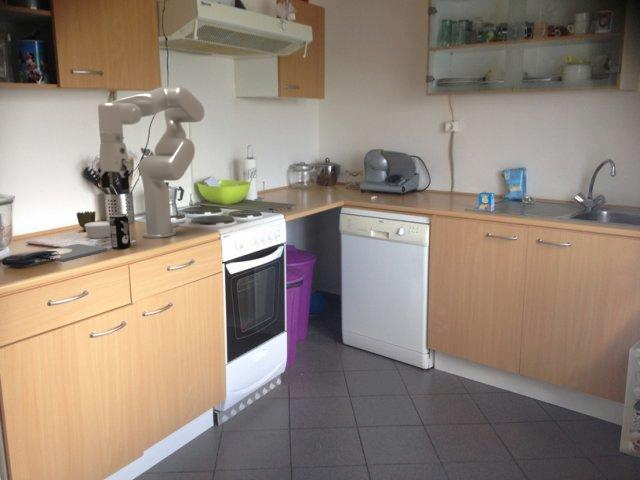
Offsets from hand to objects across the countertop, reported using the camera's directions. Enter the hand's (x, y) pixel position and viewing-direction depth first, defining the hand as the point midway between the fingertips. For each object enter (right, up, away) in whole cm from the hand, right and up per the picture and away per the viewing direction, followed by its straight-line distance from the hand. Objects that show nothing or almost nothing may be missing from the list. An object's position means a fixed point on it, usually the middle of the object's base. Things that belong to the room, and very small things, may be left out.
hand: (115, 188), depth 200 cm
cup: (-25, -15, +37) cm, 47 cm away
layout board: (-14, -23, -4) cm, 27 cm away
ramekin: (-15, -17, +26) cm, 34 cm away
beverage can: (0, -21, +5) cm, 22 cm away
